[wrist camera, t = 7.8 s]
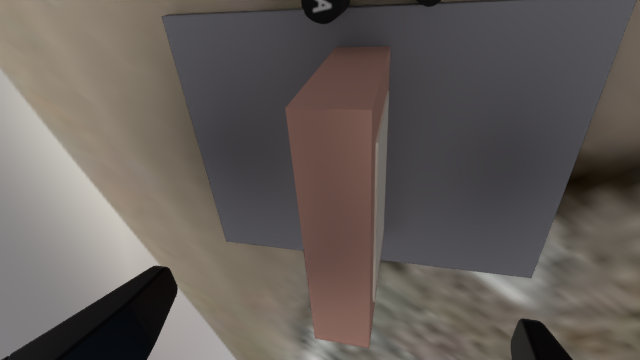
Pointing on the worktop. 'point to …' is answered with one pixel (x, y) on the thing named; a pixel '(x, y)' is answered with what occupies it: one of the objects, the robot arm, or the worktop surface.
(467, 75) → the mat
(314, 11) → the nameplate
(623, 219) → the worktop surface
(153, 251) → the worktop surface
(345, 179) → the card box
